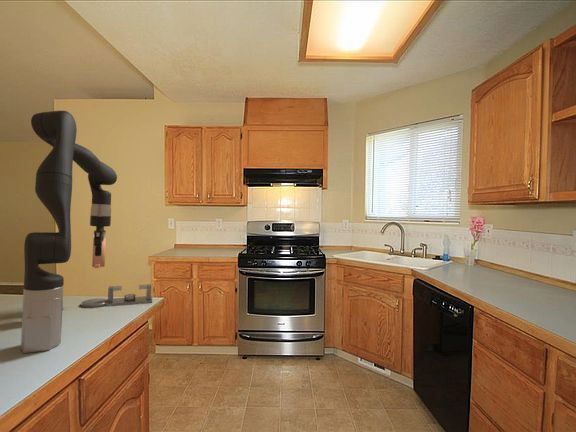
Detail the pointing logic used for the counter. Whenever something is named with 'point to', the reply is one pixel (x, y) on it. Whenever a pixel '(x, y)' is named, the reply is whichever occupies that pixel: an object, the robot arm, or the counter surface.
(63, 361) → the counter surface
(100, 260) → the knob
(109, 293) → the keeper post
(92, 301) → the coaster
